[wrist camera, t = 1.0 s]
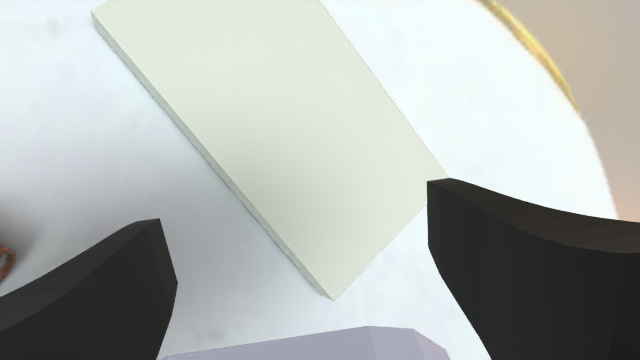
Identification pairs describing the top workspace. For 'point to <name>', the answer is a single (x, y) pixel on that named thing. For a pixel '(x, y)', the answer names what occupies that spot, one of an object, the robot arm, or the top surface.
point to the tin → (6, 261)
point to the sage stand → (282, 122)
